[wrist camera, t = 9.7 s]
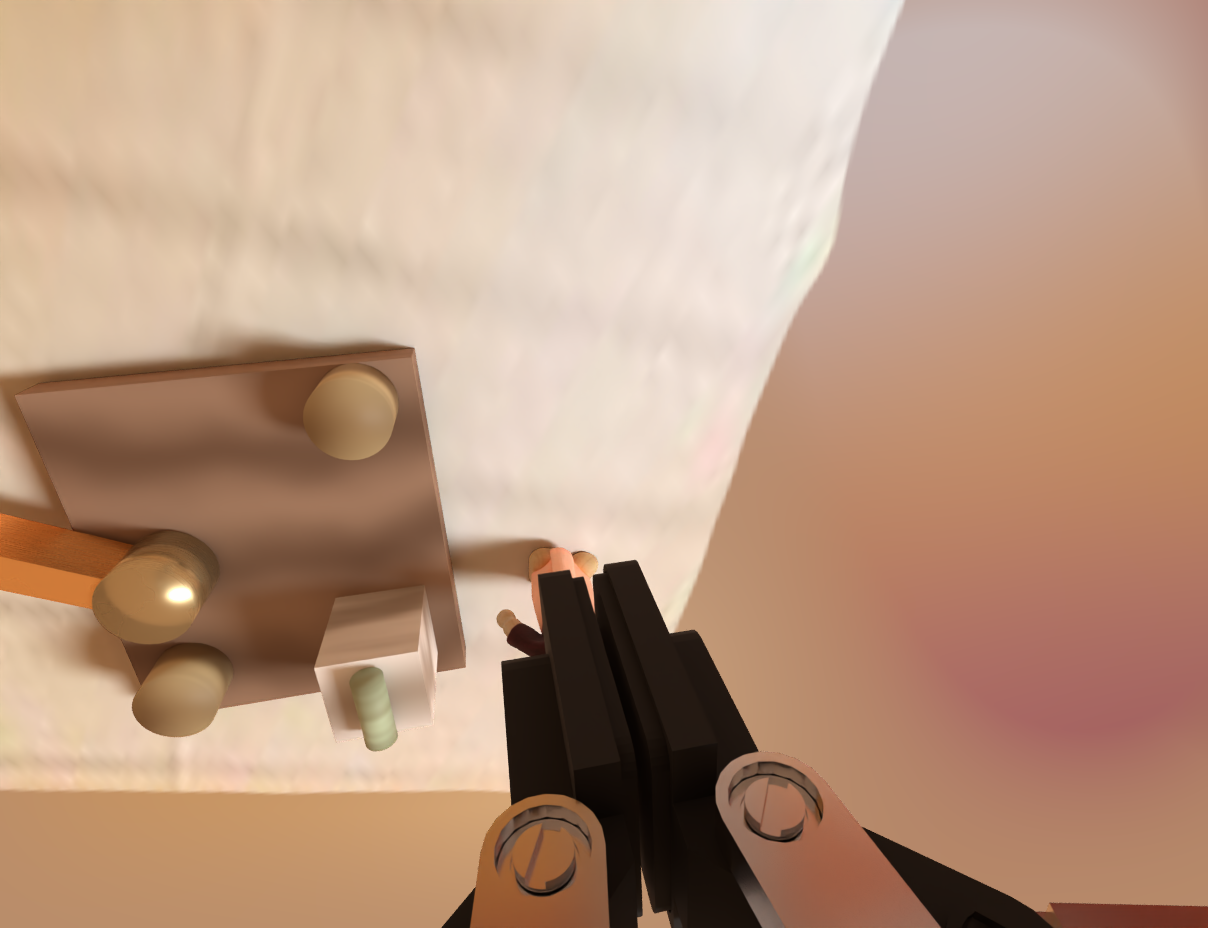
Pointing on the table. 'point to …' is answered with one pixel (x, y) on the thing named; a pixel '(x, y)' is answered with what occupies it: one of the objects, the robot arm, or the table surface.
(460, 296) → the table surface
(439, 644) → the base
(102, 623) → the orange lever bar
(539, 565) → the grandmother figurine
